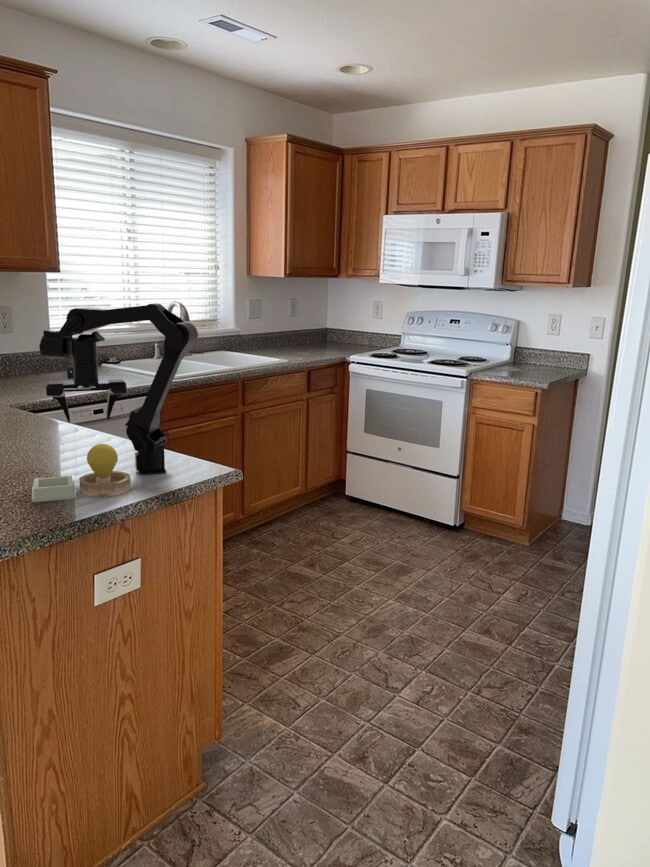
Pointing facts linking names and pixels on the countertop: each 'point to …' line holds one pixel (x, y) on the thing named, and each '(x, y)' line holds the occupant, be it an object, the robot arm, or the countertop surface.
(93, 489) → the round cradle
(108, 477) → the light bulb
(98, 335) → the robot arm
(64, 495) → the square socket
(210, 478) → the countertop surface
